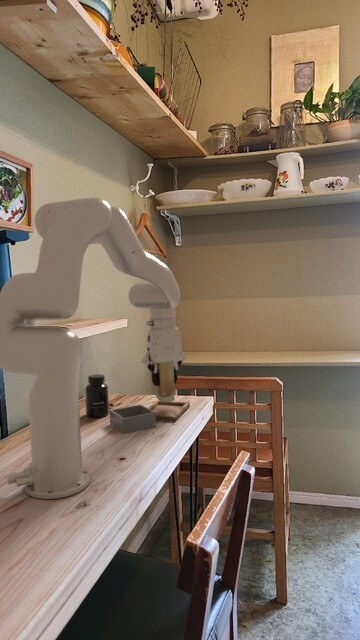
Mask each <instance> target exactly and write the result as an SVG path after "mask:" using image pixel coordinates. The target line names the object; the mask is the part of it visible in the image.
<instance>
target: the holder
mask: <svg viewBox="0 0 360 640" xmlns="http://www.w3.org/2000/svg"><path fill="white" fill-rule="evenodd" d="M140 414H141V415H140ZM109 421H110V422H109V424H110V425H111V426H112V425H113V426H112V427H114V429H116V428H117V429H116V430H117V431H118V432H120V431H121V432H120V433H122V434H129V433H133V432H138V431H142V430H143V431H144V430H148V429H153V428H156V427H157V421H156V413H155V412H154V411H152V410H150V409H148V407H146V406H144V405H143V404H135V405H129V406H125V407H119V408H118V407H117V408H113V409H109Z"/></svg>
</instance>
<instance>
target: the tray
mask: <svg viewBox="0 0 360 640" xmlns="http://www.w3.org/2000/svg"><path fill="white" fill-rule="evenodd" d="M190 406H191V404H190V402H187V401H169V402H160V401H159V400H156V401H154V402H153V403H152V404H151V405H150V406H148V407H147V408H148V409H150V410H152V411H154V412H155V413H156V422H157V421H158V422H169V423H170V422H171V423H172V422H173V423H175V422H177V421H178V420H179V419H180V418H181V417H182V416H183V415H184V414H185V412H187V411H188V409H190ZM140 415H141V414H140Z"/></svg>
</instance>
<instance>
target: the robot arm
mask: <svg viewBox="0 0 360 640" xmlns="http://www.w3.org/2000/svg"><path fill="white" fill-rule="evenodd" d="M34 226H35V229H36V231H37V233H38V234H39V236H40V237H41V238H42V242H41V244H40V248H39V255H38V260H37V266H36V269H35V271H34V272H25V273H24V272H23V273H18V274H17V273H16V274H15V275H12V276H11V277H10V278H8V279H7V280H6V282H5V283H4V285H3V286H2V288H1V290H0V369H1V370H3V371H5V372H7V373H10V374H23V375H32V376H36V379H35V381H34V383H33V385H32V387H31V390H30V392H29V396H28V401H27V402H28V418H29V430H30V431H29V434H30V435H29V436H30V451H31V453H30V454H31V462H28V464H27V465H28V467H27V468H23V471H18V472H12V473H7V474H6V482H7V483H6V484H7V485H12V484H15V486H16V487H22V486H24V490H25V492H26V494H27V495H29V496H31V497H33V498H35V499H36V498H37V499H42V500H43V499H44V500H54V499H60V498H65V497H70V496H72V495H75V494H77V493H79V492H81V491H83V490H85V488H87V487H88V486H89V485H90V483H91V480H92V479H91V473H90V471H88V469H86V468H84V467H83V459H82V457H83V456H82V436H81V434H82V433H81V416H80V397H79V394H80V392H79V382H80V381H79V379H80V368H81V363H82V355H83V349H82V348H83V346H82V342H81V340H80V337H79V336H78V335H77V334H76V333H75V332H74V331H72V330H70V329H68V328H66V327H65V328H64V327H59V326H48V325H47V326H45V325H43V326H40V325H38V326H37V325H36V326H35V324H36V321H37V320H39V321H42V320H43V321H62V320H67V319H70V318H71V317H73V316H74V315H75V314H76V313H77V310H78V307H79V301H80V291H81V282H82V273H83V272H82V271H83V263H84V256H85V253H86V251H87V249H88V247H89V246H90V245H96V244H97V245H98V244H99V245H101V246H102V247H103V249H104V251H105V252H106V254H107V256H108V258H109V259H110V261H111V263H112V264H113V266H114V268H115V269H116V270H117V271H119V272H121V273H123V274H126V275H128V276H130V277H134V278H138V279H141V280H144V282H138V283H134V284H133V285H132V286H131V287H130V289H129V292H128V300H129V302H130V304H131V305H132V306H133V307H134V308H136V309H141V310H149V316H150V318H149V320H148V321H146V322H145V324H146V327H147V326H148V327H150V328H149V329H148V331H147V338H146V353H145V355H144V356H143V358H142V359H141V360H140V364H141V365H142V366H145V368H147V369H148V370H149V371H150V372H151V382H152V384H153V386H155V387H156V386H160V377H159V373H158V368H159V363H162V362H167V361H174V385H175V384H177V381H178V370H179V368H180V366H181V365H182V363H183V362H184V361H185V360H186V359H187V355H185V353H184V352H183V347H182V346H183V345H182V339H181V334H180V329H179V327H177V326H176V325H177V323H176V307H177V306H178V305H179V303H180V301H181V292H180V286H179V283H178V282H177V279H176V278H175V275H174V273H173V272H172V270H171V269H170V267H168V265H166V264H165V263H164V262H162V261H161V260H159V259H158V258H156V257H155V256H154V255H152V254H150V253H149V252H147V251H145V250H144V248H143V246H142V243H141V242H140V240H139V238H138V236H137V234H136V232H135V230H134V227H132V224H131V223H130V220H129V219H128V217H127V215H126V213H125V212H124V211H123V210H122V209H121V208H118V207H116V206H110V205H109V203H108V201H106V200H104V199H102V198H100V197H99V198H98V197H86V198H78V199H70V200H64V201H63V200H62V201H55V202H54V201H53V202H48V203H45V204H43V205H41V206H39V208H38V209H37V211H36V212H35V214H34ZM145 281H146V282H145ZM149 362H150V363H149Z"/></svg>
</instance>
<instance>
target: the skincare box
mask: <svg viewBox="0 0 360 640" xmlns="http://www.w3.org/2000/svg"><path fill="white" fill-rule="evenodd" d="M158 373H159V377H160V386H155V397H156V399H158V400H157V401H160V402H169V401H172V402H176V401H175V384H174V361H167V362H162V363H159V368H158Z"/></svg>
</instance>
